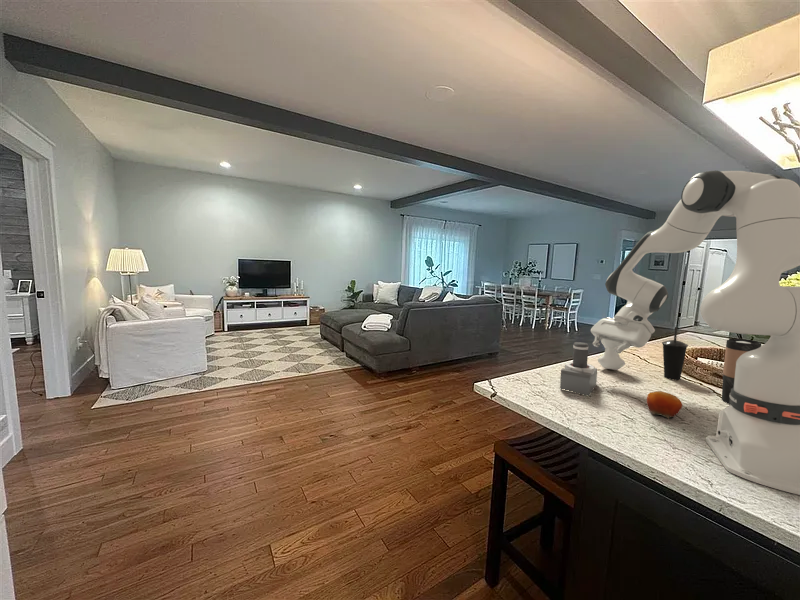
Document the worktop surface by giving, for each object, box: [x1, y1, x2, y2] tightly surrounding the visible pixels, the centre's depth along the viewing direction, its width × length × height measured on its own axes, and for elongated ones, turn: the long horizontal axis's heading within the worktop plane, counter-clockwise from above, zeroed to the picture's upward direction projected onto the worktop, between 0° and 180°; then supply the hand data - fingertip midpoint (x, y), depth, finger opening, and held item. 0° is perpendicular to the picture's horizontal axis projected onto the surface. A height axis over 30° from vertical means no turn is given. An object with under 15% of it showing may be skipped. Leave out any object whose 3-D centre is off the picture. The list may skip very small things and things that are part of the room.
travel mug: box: [721, 338, 762, 404], centre depth 103 cm, size 8×8×20 cm
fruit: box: [646, 390, 683, 420], centre depth 95 cm, size 8×8×8 cm
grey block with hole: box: [559, 361, 598, 397], centre depth 118 cm, size 14×9×8 cm, turn 140°
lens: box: [572, 341, 589, 368], centre depth 117 cm, size 5×5×10 cm
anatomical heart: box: [597, 339, 626, 371], centre depth 137 cm, size 10×11×15 cm
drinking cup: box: [661, 326, 689, 381], centre depth 126 cm, size 8×8×20 cm
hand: (605, 348), depth 120 cm, fingers open, 8 cm apart
